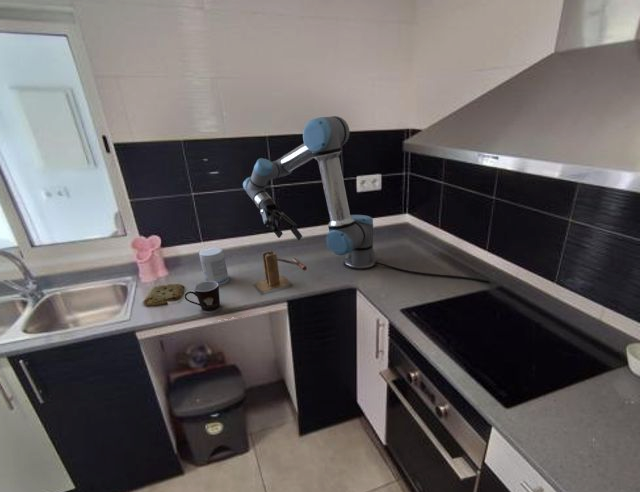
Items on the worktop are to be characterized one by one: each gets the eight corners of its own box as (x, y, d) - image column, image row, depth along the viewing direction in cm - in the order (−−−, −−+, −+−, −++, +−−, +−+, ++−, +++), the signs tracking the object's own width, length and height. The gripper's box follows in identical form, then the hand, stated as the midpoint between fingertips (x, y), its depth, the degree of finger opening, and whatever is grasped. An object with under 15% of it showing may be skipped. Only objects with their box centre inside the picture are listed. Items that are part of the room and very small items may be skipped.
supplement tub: (231, 277, 169) (225, 246, 162) (226, 287, 161) (219, 255, 154) (209, 278, 169) (203, 247, 162) (203, 288, 161) (195, 255, 154)
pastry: (172, 283, 165) (170, 277, 163) (197, 294, 156) (195, 287, 154) (133, 299, 152) (130, 293, 151) (157, 312, 143) (155, 305, 142)
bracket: (283, 278, 169) (279, 246, 162) (292, 286, 161) (288, 254, 154) (254, 285, 163) (249, 252, 156) (262, 294, 155) (257, 260, 148)
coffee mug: (226, 304, 148) (222, 281, 143) (217, 315, 141) (212, 292, 136) (198, 303, 149) (192, 280, 144) (187, 314, 142) (181, 290, 137)
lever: (295, 262, 169) (296, 257, 169) (305, 271, 161) (307, 266, 160) (261, 255, 159) (262, 250, 159) (270, 264, 151) (272, 258, 150)
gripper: (279, 214, 188) (303, 244, 182) (241, 206, 166) (266, 240, 160) (288, 202, 185) (312, 233, 179) (250, 193, 163) (276, 227, 157)
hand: (290, 237), depth 169 cm, fingers open, 13 cm apart
